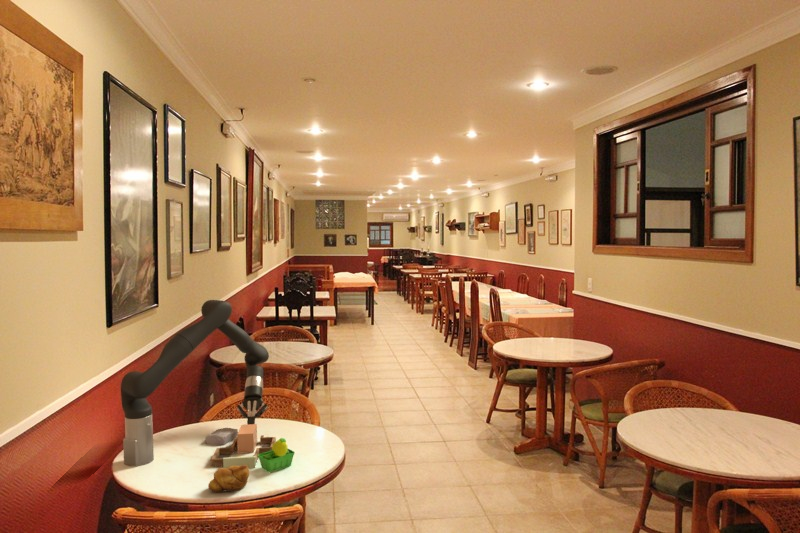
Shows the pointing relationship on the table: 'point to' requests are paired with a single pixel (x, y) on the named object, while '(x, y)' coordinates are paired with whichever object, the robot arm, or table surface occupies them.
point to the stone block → (221, 436)
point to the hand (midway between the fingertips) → (250, 426)
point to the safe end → (239, 461)
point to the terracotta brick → (247, 438)
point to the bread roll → (229, 479)
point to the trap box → (226, 451)
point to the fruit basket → (276, 457)
